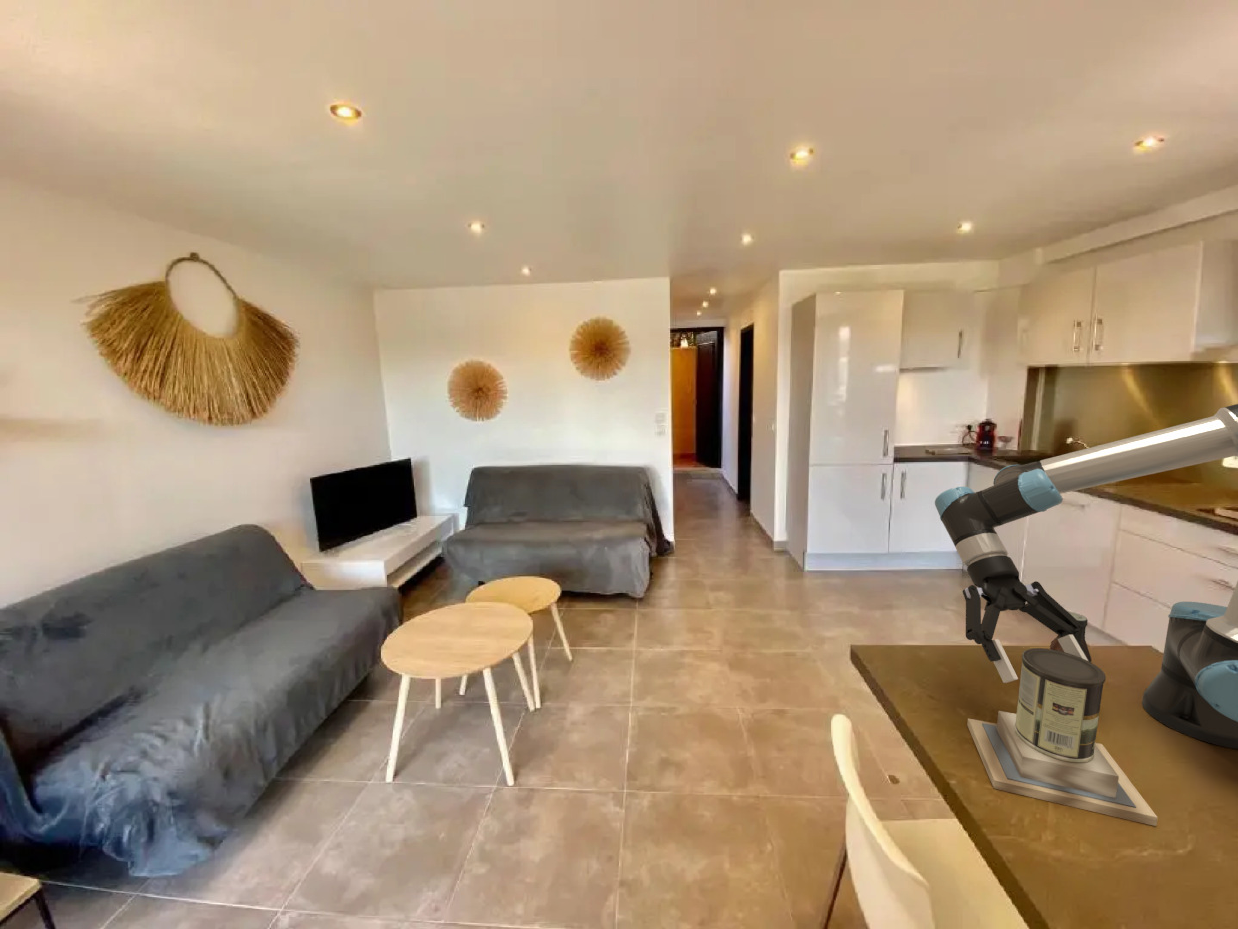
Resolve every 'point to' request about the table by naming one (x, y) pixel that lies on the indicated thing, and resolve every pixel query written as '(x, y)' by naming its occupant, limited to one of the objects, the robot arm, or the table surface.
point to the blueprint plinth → (1057, 795)
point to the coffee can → (1059, 704)
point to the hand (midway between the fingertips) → (1049, 678)
